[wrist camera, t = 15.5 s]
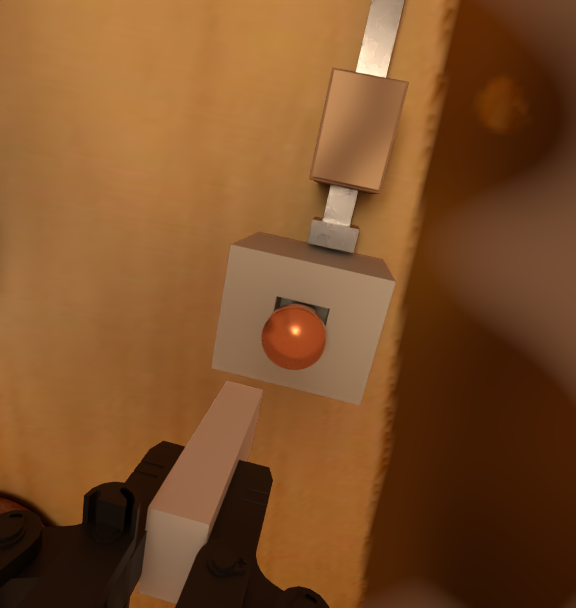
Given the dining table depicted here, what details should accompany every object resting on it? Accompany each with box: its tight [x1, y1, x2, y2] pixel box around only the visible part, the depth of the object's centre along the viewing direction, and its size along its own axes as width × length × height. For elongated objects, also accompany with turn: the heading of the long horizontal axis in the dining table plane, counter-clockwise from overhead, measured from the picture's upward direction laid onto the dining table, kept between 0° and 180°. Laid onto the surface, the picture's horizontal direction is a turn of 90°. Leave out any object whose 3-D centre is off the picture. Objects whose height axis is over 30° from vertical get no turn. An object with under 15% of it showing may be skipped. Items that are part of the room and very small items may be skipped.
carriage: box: [309, 68, 409, 194], centre depth 31 cm, size 5×7×9 cm
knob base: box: [211, 232, 396, 406], centre depth 35 cm, size 12×10×10 cm
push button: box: [261, 300, 326, 370], centre depth 30 cm, size 4×4×6 cm
